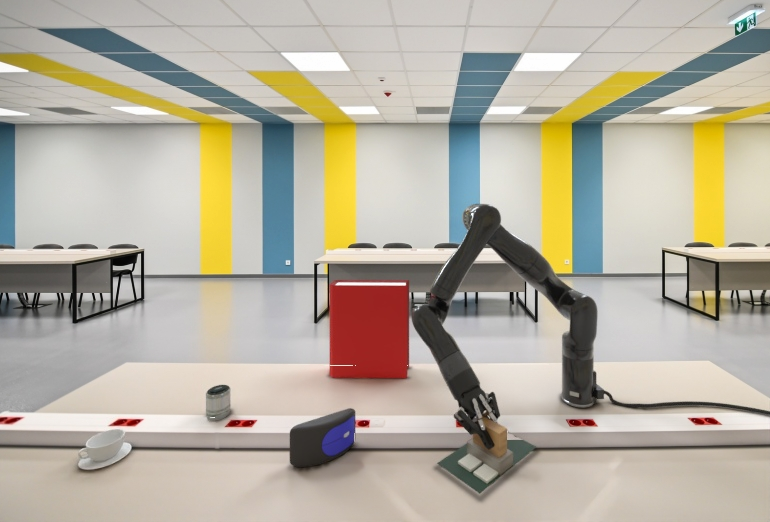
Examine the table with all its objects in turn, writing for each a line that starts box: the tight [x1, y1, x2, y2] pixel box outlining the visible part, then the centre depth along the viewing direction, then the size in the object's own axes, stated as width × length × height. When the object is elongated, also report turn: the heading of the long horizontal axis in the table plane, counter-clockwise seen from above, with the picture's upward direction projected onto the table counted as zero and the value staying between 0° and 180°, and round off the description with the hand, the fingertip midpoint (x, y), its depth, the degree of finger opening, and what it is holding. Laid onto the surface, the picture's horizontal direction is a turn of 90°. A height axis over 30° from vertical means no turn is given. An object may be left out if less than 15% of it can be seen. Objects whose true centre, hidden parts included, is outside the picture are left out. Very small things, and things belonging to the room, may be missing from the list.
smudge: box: [473, 464, 498, 484], centre depth 90 cm, size 4×4×1 cm
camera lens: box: [205, 384, 232, 422], centre depth 115 cm, size 6×6×8 cm
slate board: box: [436, 439, 537, 495], centre depth 97 cm, size 22×13×1 cm, turn 134°
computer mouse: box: [289, 407, 356, 468], centre depth 97 cm, size 16×5×9 cm, turn 123°
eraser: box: [466, 416, 513, 475], centre depth 95 cm, size 10×5×8 cm, turn 44°
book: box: [328, 279, 410, 379], centre depth 142 cm, size 27×8×32 cm, turn 89°
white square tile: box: [458, 454, 482, 472], centre depth 93 cm, size 4×4×1 cm
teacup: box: [77, 428, 132, 470], centre depth 97 cm, size 10×10×5 cm
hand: (496, 444), depth 93 cm, fingers closed on eraser, 3 cm apart
